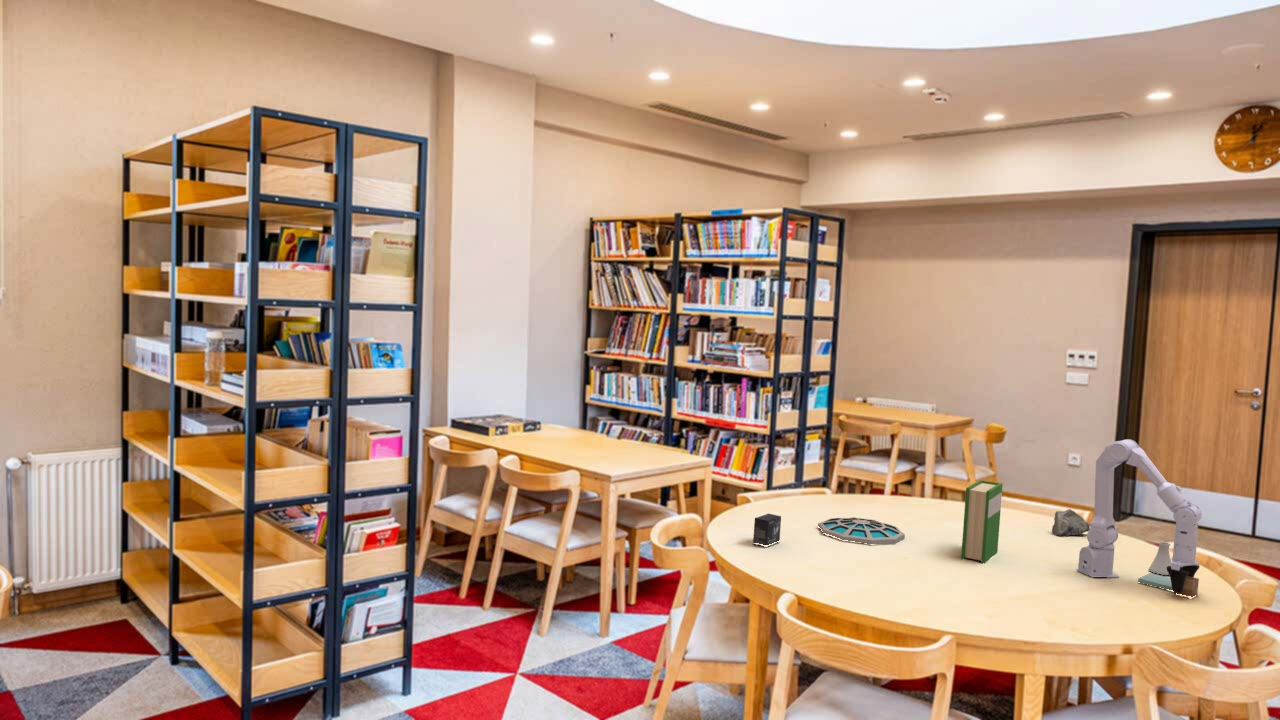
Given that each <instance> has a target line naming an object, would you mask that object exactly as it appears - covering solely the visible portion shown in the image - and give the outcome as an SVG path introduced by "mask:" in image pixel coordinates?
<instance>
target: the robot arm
mask: <svg viewBox="0 0 1280 720" xmlns="http://www.w3.org/2000/svg"><path fill="white" fill-rule="evenodd" d="M1123 462H1126V463H1125V464H1127V465H1129V466H1133V467H1136V468H1138V469H1139V470H1140V471H1141V472H1142V473H1143V474H1144V476H1145V477H1146V478H1147V479H1148V480H1149V481H1150V482H1151V484H1153V485H1154V486H1155V487H1156V495H1157V496H1158V498H1159V499H1160V500H1161V501H1162V502H1163V503H1164V504H1165V506H1166V507H1167V508H1168V510H1170V511H1171V513H1173V519H1174V521H1175V528H1174V539H1173V550H1172V552H1173V553H1172V557H1171V562H1172V565H1171V566H1168V567H1167V571H1168V573H1169V576H1168V577H1169V578H1170V579H1171V584H1172V589H1173V591H1174V592H1173V593H1175V592H1178V593H1181V592H1182V590H1183V586H1184V582H1185V579H1186V577H1187V576H1190V577H1194V578H1195V574H1196V573H1197V572H1198V570H1199V569H1200V561H1196V555H1197V546H1198V535H1199V532H1198V529H1199V523H1198V522H1200V520H1201V519H1202V517H1203V516H1202V511H1201V509H1200V507H1199V506H1198V505H1196V504H1194V503H1193V501H1192V500H1189V499H1188V498H1187V497H1186V496H1185V495H1184V493H1183V492H1182V491H1181V490H1182V488H1181V486H1180V485H1176V484H1175V483H1174V482H1173V483H1172V482H1168V481H1167V480H1166V479H1165V477H1164V476H1163V475H1162V473H1161V472H1160V471H1159V470H1158V468H1157V467H1156V466H1155V464H1154V463H1153V461H1151V459H1150V458H1149V457H1148V455H1147V453H1146V451H1144V449H1143V448H1142V447H1140V446H1139V444H1138V443H1137V442H1136V441H1135V440H1133V439H1128V438H1127V439H1123V440H1116V441H1112V442H1110V443H1109V444H1108V445H1106V446H1105V447H1104V449H1103V451H1102V452H1101V454H1100V455H1099V456H1098V458H1097V459H1096V460H1095V479H1094V483H1095V484H1094V508H1093V509H1094V512H1093V518H1092V520H1091V521H1090V530H1089V531H1088V532H1086V540H1087V541H1088V544H1087V546H1084V547H1082V548H1081V549H1080V550H1079V554H1078V556H1079V557H1078V568H1076V569H1075V570H1076V571H1077V570H1078V571H1077V572H1080V573H1082V574H1084V575H1086V576H1088V575H1089V576H1088V577H1090V576H1091V577H1090V578H1093V577H1107V578H1119V577H1120V576H1119V574H1116V573H1114V560H1115V547H1116V546H1115V544H1114V543H1116V541H1118V538H1119V532H1118V530H1117V527H1116V521H1115V519H1114V492H1115V491H1114V488H1115V468H1117V467H1119V466H1120V465H1121V464H1123Z"/></svg>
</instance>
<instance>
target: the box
mask: <svg viewBox="0 0 1280 720" xmlns="http://www.w3.org/2000/svg"><path fill="white" fill-rule="evenodd" d="M781 524H782V515H777V514H772V513H766V514H764V515H760V516H757V517H754V524H753V525H754V526H753V540H752V541H753V542H752V544H753V543H759V544H763V545H769V544H772V543H774V542H777V541H779V540H781V526H782V525H781Z"/></svg>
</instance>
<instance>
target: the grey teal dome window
mask: <svg viewBox="0 0 1280 720" xmlns="http://www.w3.org/2000/svg"><path fill="white" fill-rule="evenodd" d="M818 526H819V527H820V528H821V529H822V531H823V533H826V534H829V535H832V536H835V537H837V538H840V539H842V540H848V541H855V542H861V543H867V544H882V545H896V544H897V543H899V542H901V541H902V539H903V540H905V539H906V535H905V534H906V533H904V532H903V531H901V530H900V528H899V527H897V526H895V525H892V524H888V523H886V522H880V521H877V520H876V519H871V518H870V519H869V518H860V517H855V516H853V517H833V518H832V517H831V518H828V519H826V520H824V521H821V522H818V523H817V527H818ZM823 533H822V534H823ZM900 540H901V541H900ZM898 541H899V542H898ZM895 543H896V544H895Z"/></svg>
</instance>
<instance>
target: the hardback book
mask: <svg viewBox="0 0 1280 720" xmlns="http://www.w3.org/2000/svg"><path fill="white" fill-rule="evenodd" d="M1002 497H1003V482H1002V483H1001V482H994V481H988V480H978V481H976V482H974V483H972V484H971V485H969V486H967V487H966V488H965V500H964V516H963V527H962V528H963V529H962V540H961V541H962V542H961V544H962V545H961V556H960V557H961V558H960V559H961V560H963V559H964V560H966V559H972V560H978V561H981V564H983V563H984V564H986V563H987V562H988V561H989V560H990V558H991V557H992V556H993V557H994V556H995V555H996V554H997V553H999V552H998V551H999V549H998V547H999V536H1000V525H1001V524H1000V523H1001V521H1000V520H1001V510H1002ZM993 557H992V558H993ZM992 558H991V559H992Z"/></svg>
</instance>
